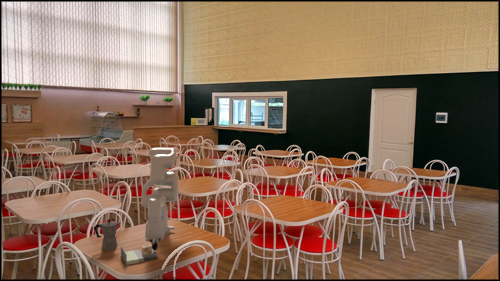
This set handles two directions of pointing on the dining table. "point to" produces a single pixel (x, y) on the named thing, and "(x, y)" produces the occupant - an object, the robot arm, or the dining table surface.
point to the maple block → (146, 249)
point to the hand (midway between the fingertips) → (154, 249)
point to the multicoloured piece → (137, 256)
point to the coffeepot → (108, 234)
